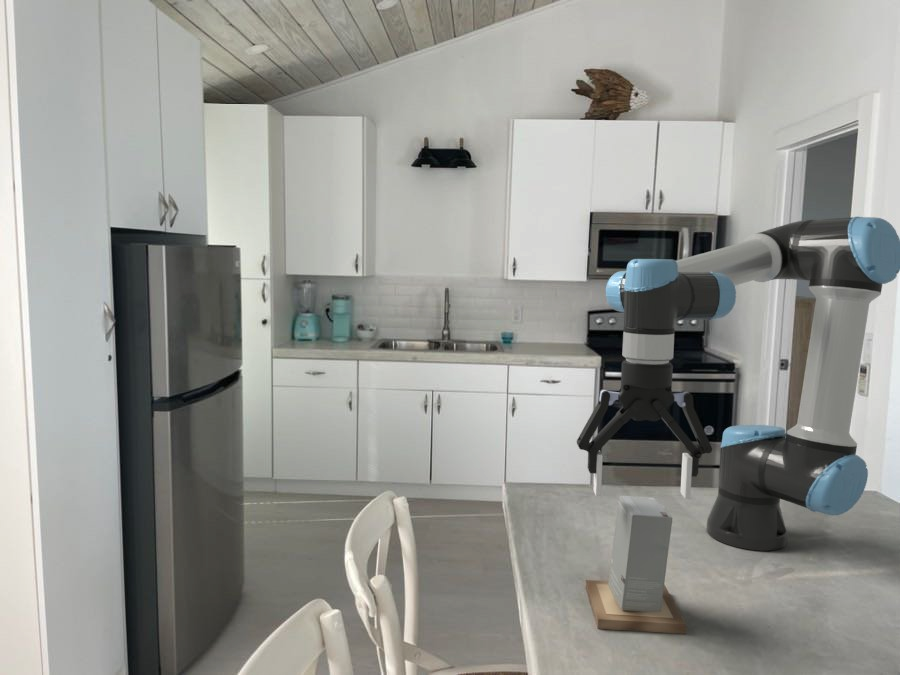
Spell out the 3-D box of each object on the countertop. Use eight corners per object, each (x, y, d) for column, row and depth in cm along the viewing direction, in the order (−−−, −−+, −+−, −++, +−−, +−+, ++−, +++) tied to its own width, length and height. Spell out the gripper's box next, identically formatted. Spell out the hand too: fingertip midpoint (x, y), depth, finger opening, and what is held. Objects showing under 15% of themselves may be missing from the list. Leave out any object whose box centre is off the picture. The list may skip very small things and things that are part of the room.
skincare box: (607, 587, 112) (612, 493, 111) (650, 588, 113) (656, 494, 111) (621, 613, 104) (627, 512, 102) (667, 613, 104) (674, 513, 103)
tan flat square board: (663, 592, 115) (664, 583, 114) (685, 633, 102) (686, 623, 101) (585, 588, 115) (586, 579, 115) (597, 628, 102) (598, 618, 102)
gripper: (722, 358, 107) (714, 489, 110) (562, 355, 109) (558, 484, 111) (739, 365, 100) (730, 505, 102) (567, 361, 101) (563, 500, 104)
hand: (641, 494), depth 107 cm, fingers open, 13 cm apart
